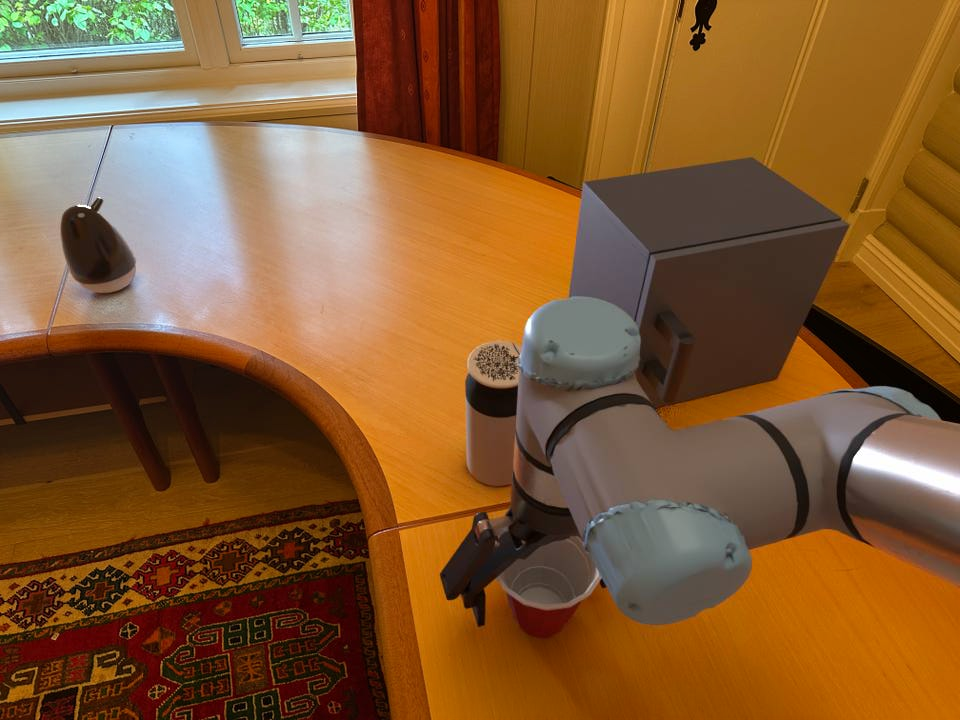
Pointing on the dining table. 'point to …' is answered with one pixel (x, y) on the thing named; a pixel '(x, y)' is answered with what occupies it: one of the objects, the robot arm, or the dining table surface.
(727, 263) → the cupboard door
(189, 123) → the dining table surface
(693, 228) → the cupboard
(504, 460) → the travel mug
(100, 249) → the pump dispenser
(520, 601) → the plastic cup
